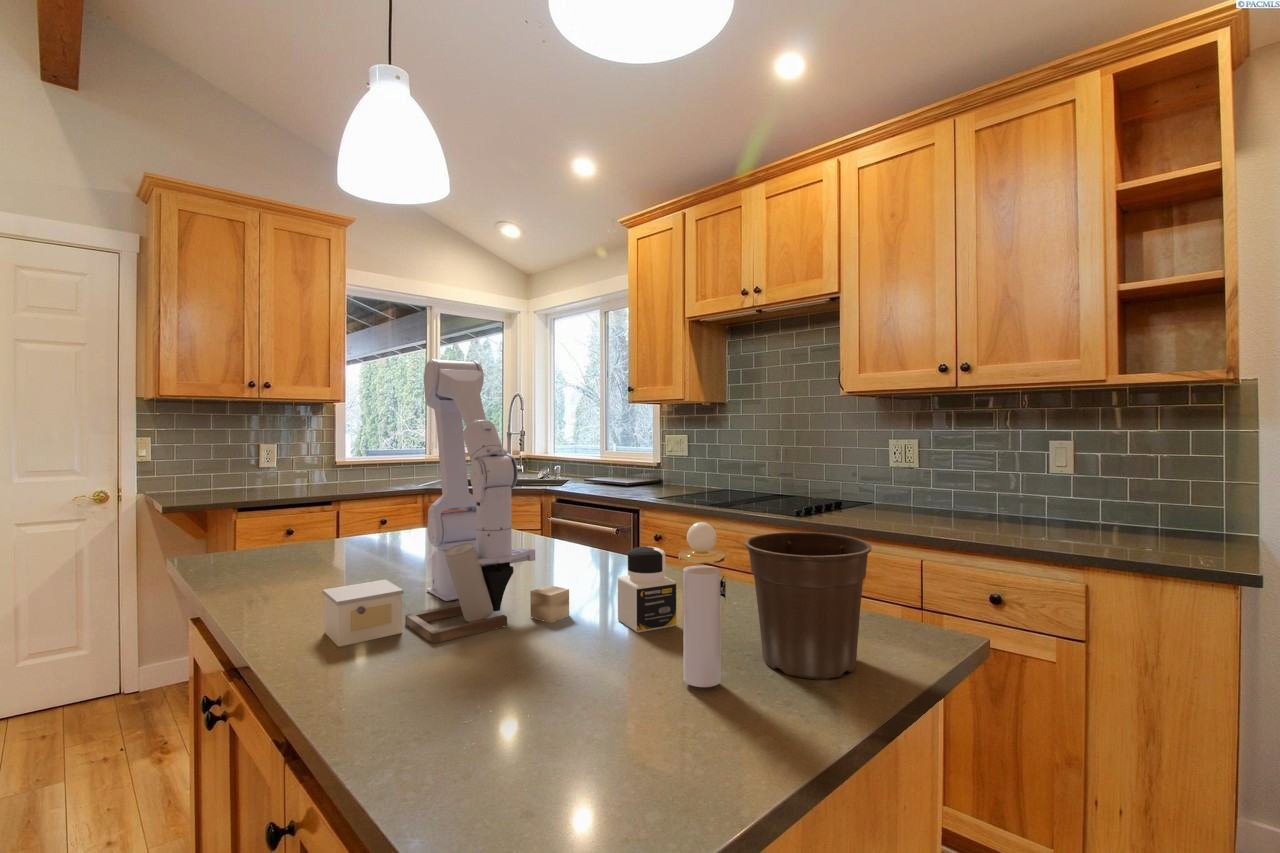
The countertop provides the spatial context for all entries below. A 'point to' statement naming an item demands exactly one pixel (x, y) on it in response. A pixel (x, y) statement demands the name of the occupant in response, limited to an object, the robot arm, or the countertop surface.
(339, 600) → the control box
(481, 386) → the robot arm
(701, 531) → the perfume bottle
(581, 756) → the countertop surface
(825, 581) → the plant pot
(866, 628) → the countertop surface
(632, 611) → the medicine bottle
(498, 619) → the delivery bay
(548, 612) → the beech block
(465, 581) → the beverage can
